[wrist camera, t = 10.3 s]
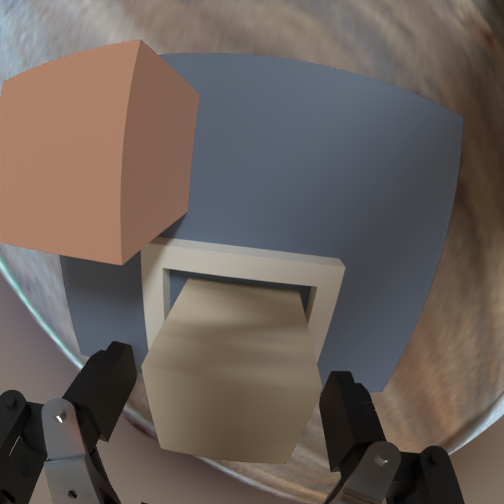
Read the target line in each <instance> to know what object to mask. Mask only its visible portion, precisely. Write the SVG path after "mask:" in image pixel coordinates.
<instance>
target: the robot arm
mask: <svg viewBox="0 0 504 504" xmlns="http://www.w3.org/2000/svg"><path fill="white" fill-rule="evenodd" d="M136 377H137V371H136V365H135V360H134V355H133V349H132V346H131V345H129V344H125V343H121V342H117V341H112V342H111V344H110V345H109V347H108V348H107V349H106V351H105V350H99V351H98V352H96V353H95V354H93V355H92V356H91V357H90V358H89V360H88V361H87V363H86V365H85V366H84V367H83V368H82V370H81V372H80V373H79V374H78V375H77V377H76V378H75V380H74V381H73V383H72V384H71V385H70V387H69V388H68V390H67V391H66V393H65V394H64V396H63V397H62V398H55V399H52V400H50V401H48V402H47V403H46V404H38V403H33V402H27V401H26V399H25V398H24V396H23V395H22V394H21V393H20V392H19V391H16V390H8V391H6V392H4V393H3V394H2V395H1V396H0V504H28V503H29V501H30V498H31V496H32V493H33V490H34V488H35V485H36V482H37V480H38V478H39V475H40V473H41V470H42V468H43V466H44V469H45V474H46V478H47V483H48V486H49V490H50V494H51V497H52V500H53V503H54V504H121V502H120V500H119V498H118V496H117V494H116V492H115V491H114V489H113V488H112V486H111V484H110V482H109V479H108V477H107V474H106V472H105V469H104V467H103V464H102V462H101V458H100V456H99V453H98V450H97V447H96V444H97V441H98V439H100V440H103V441H106V442H108V441H109V438H110V436H111V434H112V432H113V429H114V427H115V425H116V423H117V421H118V418H119V416H120V414H121V412H122V410H123V408H124V406H125V404H126V401H127V399H128V397H129V395H130V393H131V391H132V389H133V387H134V385H135V382H136ZM319 408H320V413H321V419H322V424H323V430H324V435H325V441H326V447H327V452H328V458H329V464H330V471H331V472H339V471H340V473H341V478H340V479H339V481H338V482H337V484H336V485H335V486H334V488H333V489H332V491H331V492H330V493H329V495H328V496H327V498H326V499H325V500H324V502H323V503H322V504H381V503H382V501H383V499H384V497H386V501H387V504H465V503H464V500H463V496H462V493H461V490H460V487H459V484H458V481H457V478H456V475H455V472H454V469H453V466H452V463H451V461H450V458H449V455H448V453H447V452H446V451H445V450H444V449H443V448H441V447H439V446H429V447H427V448H426V449H424V450H423V451H422V452H421V453H409V452H401V451H399V449H398V448H397V447H396V446H395V445H394V444H392V443H390V442H387V441H386V438H385V435H384V433H383V430H382V427H381V424H380V421H379V418H378V416H377V413H376V411H375V407H374V405H373V403H372V399H371V397H370V394H369V391H368V390H367V389H366V388H365V387H364V386H363V385H362V384H361V383H355V381H354V378H353V376H352V373H351V372H350V371H331V372H330V374H329V377H328V379H327V382H326V384H325V386H324V389H323V391H322V393H321V396H320V402H319ZM18 437H19V439H18V441H17V443H16V445H15V446H14V444H15V442H16V440H17V438H18ZM13 446H14V448H13ZM12 448H13V450H12ZM11 450H12V452H11ZM10 452H11V454H10ZM9 455H10V456H9ZM47 457H48V460H46V459H47ZM141 504H146V503H143V502H142V503H141Z"/></svg>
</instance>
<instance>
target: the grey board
mask: <svg viewBox="0 0 504 504" xmlns="http://www.w3.org/2000/svg"><path fill="white" fill-rule="evenodd" d="M159 56H160V57H161V58H162V59H163V60H164V61H165V62H166V63H167V64H169V65H170V66H171V67H172V68H173V69H174V70H175V71H176V72H177V73H178V74H179V75H180V76H181V77H182V78H183V79H184V80H185V81H186V82H187V83H189V84H190V85H191V86H192V87H193V88H194V89H195V90H196V91H197V92H198V93H199V94H200V96H199V103H198V111H197V118H196V127H195V135H194V144H193V154H192V164H191V175H190V187H189V201H188V212H187V213H186V214H184V215H183V216H182V217H180V218H179V219H178V220H177V221H175V222H174V223H173V224H171V225H170V226H169V227H168V228H166V229H165V230H164V231H163V232H161V233H160V234H159V235H158V236H156V237H155V238H154V239H153V240H152V241H150V242H149V243H148V244H147V245H146V246H144V247H143V248H142V249H141V250H140V251H138V252H137V253H136V254H135V255H134V256H132V257H131V258H130V259H129V260H128V261H127V262H125V263H124V264H123V265H117V264H110V263H104V262H99V261H93V260H87V259H81V258H76V257H70V256H65V255H60V261H61V268H62V274H63V280H64V286H65V291H66V296H67V301H68V306H69V310H70V315H71V319H72V323H73V327H74V331H75V334H76V338H77V342H78V345H79V348H80V352H81V354H82V355H85V356H88V357H91V356H92V355H93V354H95V353H96V352H98V351H99V350H105V351H106V349H107V348H108V347H109V345H110V344H111V342H112V341H117V342H121V343H125V344H129V345H131V346H132V349H133V355H134V360H135V365H136V371H139V372H142V367H141V365H142V364H143V362H144V360H145V358H146V356H147V354H148V352H149V350H150V348H151V346H152V344H153V342H154V340H155V338H156V337H157V335H158V333H159V331H160V329H161V327H162V325H163V324H164V322H165V320H166V318H167V316H168V314H169V312H170V311H171V309H172V307H173V305H174V303H175V302H176V300H177V298H178V296H179V294H180V293H181V291H182V289H183V287H184V285H185V284H186V282H187V280H188V278H189V277H193V278H200V279H207V280H215V281H223V282H230V283H239V284H247V285H255V286H264V287H273V288H282V289H291V290H299V294H300V298H301V301H302V305H303V309H304V313H305V317H306V321H307V325H308V329H309V333H310V337H311V341H312V345H313V349H314V353H315V358H316V362H317V366H318V370H319V375H320V379H321V383H322V391H323V389H324V386H325V384H326V382H327V379H328V377H329V374H330V372H331V371H350V372H351V373H352V376H353V378H354V381H355V383H361V384H362V385H363V386H364V387H365V388H366V389H367V390H368V391H369V393H370V392H382V391H383V389H384V388H385V386H386V384H387V382H388V380H389V379H390V377H391V375H392V373H393V371H394V369H395V368H396V366H397V364H398V362H399V360H400V358H401V356H402V354H403V352H404V350H405V348H406V346H407V344H408V341H409V339H410V337H411V335H412V333H413V330H414V328H415V326H416V324H417V321H418V319H419V316H420V314H421V311H422V309H423V306H424V304H425V301H426V299H427V296H428V293H429V290H430V288H431V285H432V282H433V279H434V276H435V273H436V270H437V267H438V264H439V260H440V257H441V253H442V250H443V246H444V243H445V239H446V235H447V231H448V227H449V223H450V218H451V214H452V209H453V204H454V199H455V193H456V187H457V181H458V174H459V167H460V158H461V148H462V135H463V116H461V115H459V114H457V113H455V112H453V111H452V110H450V109H448V108H445V107H443V106H441V105H439V104H437V103H435V102H433V101H431V100H428V99H426V98H424V97H421V96H419V95H417V94H414V93H412V92H409V91H407V90H404V89H401V88H399V87H396V86H393V85H391V84H388V83H385V82H382V81H379V80H376V79H373V78H369V77H366V76H363V75H359V74H356V73H352V72H348V71H344V70H341V69H336V68H332V67H328V66H323V65H319V64H314V63H308V62H303V61H297V60H291V59H284V58H277V57H268V56H259V55H247V54H231V53H179V54H163V55H159ZM322 391H321V393H322ZM321 393H320V394H321Z"/></svg>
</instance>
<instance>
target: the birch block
mask: <svg viewBox="0 0 504 504" xmlns="http://www.w3.org/2000/svg"><path fill="white" fill-rule="evenodd" d="M141 367H142V373H143V378H144V383H145V388H146V392H147V397H148V401H149V406H150V410H151V414H152V418H153V422H154V426H155V429H156V433H157V437H158V440H159V444H160V447H161V448H162V449H166V450H170V451H174V452H179V453H184V454H189V455H195V456H200V457H207V458H213V459H221V460H229V461H239V462H252V463H274V464H286V463H287V461H288V459H289V457H290V455H291V453H292V452H293V450H294V448H295V446H296V444H297V442H298V440H299V438H300V436H301V434H302V432H303V430H304V428H305V426H306V424H307V422H308V420H309V418H310V415H311V413H312V411H313V409H314V407H315V404H316V402H317V400H318V398H319V395H320V393H321V391H322V383H321V379H320V375H319V370H318V366H317V362H316V358H315V353H314V349H313V345H312V341H311V337H310V333H309V329H308V325H307V321H306V317H305V313H304V309H303V305H302V301H301V298H300V294H299V290H291V289H282V288H273V287H264V286H255V285H247V284H239V283H230V282H223V281H215V280H207V279H200V278H193V277H189V278H188V280H187V282H186V284H185V285H184V287H183V289H182V291H181V293H180V294H179V296H178V298H177V300H176V302H175V303H174V305H173V307H172V309H171V311H170V312H169V314H168V316H167V318H166V320H165V322H164V324H163V325H162V327H161V329H160V331H159V333H158V335H157V337H156V338H155V340H154V342H153V344H152V346H151V348H150V350H149V352H148V354H147V356H146V358H145V360H144V362H143V364H142V365H141Z"/></svg>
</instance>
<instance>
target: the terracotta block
mask: <svg viewBox="0 0 504 504" xmlns="http://www.w3.org/2000/svg"><path fill="white" fill-rule="evenodd" d="M199 96H200V94H199V93H198V92H197V91H196V90H195V89H194V88H193V87H192V86H191V85H190V84H189V83H187V82H186V81H185V80H184V79H183V78H182V77H181V76H180V75H179V74H178V73H177V72H176V71H175V70H174V69H173V68H172V67H171V66H170V65H169V64H167V63H166V62H165V61H164V60H163V59H162V58H161V57H160V56H159V55H158V54H157V53H155V52H154V51H153V50H152V49H151V48H150V47H149V46H148V45H146V44H145V43H144V42H143V41H142V40H141V39H140V40H134V41H128V42H122V43H117V44H112V45H107V46H102V47H98V48H94V49H90V50H86V51H82V52H79V53H75V54H72V55H69V56H65V57H62V58H59V59H56V60H53V61H50V62H48V63H45V64H42V65H40V66H37V67H35V68H32V69H30V70H27V71H25V72H23V73H20V74H18V75H16V76H14V77H12V78H9V79H7V80H5V81H3V86H2V91H1V96H0V243H4V244H9V245H14V246H19V247H23V248H28V249H33V250H38V251H44V252H49V253H54V254H59V255H65V256H70V257H76V258H81V259H87V260H93V261H99V262H104V263H110V264H117V265H123V264H124V263H125V262H127V261H128V260H129V259H130V258H131V257H132V256H134V255H135V254H136V253H137V252H138V251H140V250H141V249H142V248H143V247H144V246H146V245H147V244H148V243H149V242H150V241H152V240H153V239H154V238H155V237H156V236H158V235H159V234H160V233H161V232H163V231H164V230H165V229H166V228H168V227H169V226H170V225H171V224H173V223H174V222H175V221H177V220H178V219H179V218H180V217H182V216H183V215H184V214H186V213H187V212H188V201H189V187H190V175H191V164H192V154H193V144H194V135H195V127H196V118H197V111H198V103H199Z"/></svg>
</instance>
